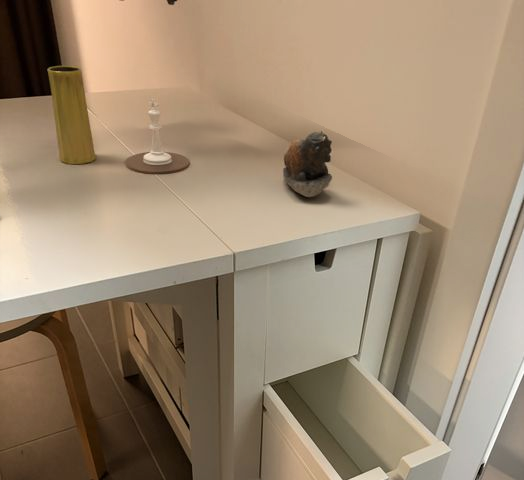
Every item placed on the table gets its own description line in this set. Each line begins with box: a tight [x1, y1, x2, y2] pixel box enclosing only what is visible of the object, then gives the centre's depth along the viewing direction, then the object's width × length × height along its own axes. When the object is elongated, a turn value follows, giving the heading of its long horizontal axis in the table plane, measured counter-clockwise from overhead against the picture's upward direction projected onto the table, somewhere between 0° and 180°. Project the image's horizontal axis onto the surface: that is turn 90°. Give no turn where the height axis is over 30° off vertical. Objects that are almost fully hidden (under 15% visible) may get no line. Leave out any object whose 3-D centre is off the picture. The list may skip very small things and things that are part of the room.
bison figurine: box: [282, 130, 333, 198], centre depth 86 cm, size 12×7×10 cm, turn 14°
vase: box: [47, 65, 97, 165], centre depth 92 cm, size 6×6×14 cm
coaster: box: [124, 151, 190, 175], centre depth 96 cm, size 11×11×1 cm
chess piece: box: [143, 98, 172, 165], centre depth 93 cm, size 5×5×10 cm
